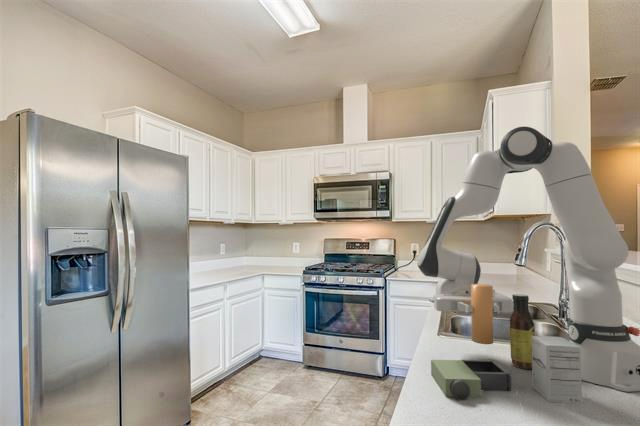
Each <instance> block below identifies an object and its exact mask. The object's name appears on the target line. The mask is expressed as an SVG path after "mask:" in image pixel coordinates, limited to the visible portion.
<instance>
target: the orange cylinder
mask: <svg viewBox="0 0 640 426" xmlns="http://www.w3.org/2000/svg"><path fill="white" fill-rule="evenodd" d="M493 289H494V286H493V285H491V284H484V283H478V284H471V305H472V306H473V311H474V312H473V313H471V315H470V317H471V324H470V325H471V341H472V342H474V343H477V344H481V345H493V344H494V313H493Z"/></svg>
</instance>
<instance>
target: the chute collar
mask: <svg viewBox="0 0 640 426" xmlns="http://www.w3.org/2000/svg"><path fill="white" fill-rule="evenodd" d="M461 360H462V361H463V362H464V363H465V364H466V365H467V366H468V367H469V368H470V369H471V370H472V371H473V372H474V373H475V374H476V375H477V376H478V377H479V378H480V379H481V392H482V391H483V392H484V391H485V392H512V374H511V373H510V372H509V371H508V370H507V369H505V368H504V367H502V365H501V364H499V363H497V361H495V360H493V359H491V360H490V359H461Z"/></svg>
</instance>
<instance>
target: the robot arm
mask: <svg viewBox="0 0 640 426" xmlns="http://www.w3.org/2000/svg"><path fill="white" fill-rule="evenodd" d="M499 147H500V148H498V149H496V150H482V151H478V152H476V153H474V154H473V156H472V158H471V159H470V161H469V163H468V166H467V168H466V171H465V173H464V176H463V179H462V183H461V186H460V188H459V189H458V191H457V193H456V194H455V195H454V196H451V197H449V198H447V200H445V202H444V204H443V206H442V207H441V210H440V212H439V214H438V215H437V218H436V220H435V222H434V224H433V227H432V229H431V231H430V233H429V236H427V237H428V238H427V240H426V242H425V243H424V245H423V246H422V249H421V250H420V252H419V255H418V258H417V268H418V269H419V270H420V272H421V273H422V274H423V276H425V277H430V278H431V277H432V278H439V279H441V280H439V281H438V282H437V283H436V286H435V294H433V297H429V298H428V300H429V302H430V303H433V308H434V309H435V311H438V312H445V313H446V312H447V313H448V312H449V313H451V312H452V313H457V314H458V315H461V316H471V313H473V312H474V311H473V306H472V305H471V284H479V281H480V278H481V272H482V269H481V265H480V262H479V260H478V258H477V257H476V255H474V254H472V253H468V252H463V251H460V250H454V249H450V248H445V247H443V246H442V245H443V243H444V241H445V238H446V237H447V234H448V231H449V229H450V227H451V225H452V223H454V222H455V221H456V220H458V219H460V218H461V219H462V218H465V217H472V216H478V215H483V214H485V213H487V212H489V211H491V210H492V209H494V207H495V206H496V204H497V202H498V199H499V195H500V193H501V189H502V185H503V181H504V179H505V176H506V175H507V174H514V173H516V174H518V173H519V174H520V173H523V172H527V171H530V170H532V169H535V170H536V171H537V172H538V173H539V174H540V177H541V178H542V181H543V183H544V187H545V190H546V193H547V195H548V199H549V201H550V203H551V207H552V209H553V212H554V215H555V217H556V218H557V220H558V222H559V224H560V227H561V228H562V231H563V234H564V236H565V240H564V243H563V251H564V262H565V271H566V272H565V273H566V279H567V285H568V297H569V299H568V300H569V317H568V319H567V327H568V328H567V331H568V337H569V338H568V339H569V341H570V342H572V343H573V344H575V345H577V346H579V347H580V351H581V381H585V382H588V383H592V384H596V385H600V386H603V387H604V386H605V387H608V388H613V389H615V390H618V391H622V392H625V393H626V392H627V393H628V392H640V345H639V344H637V342H635V341H633V340H632V339H631V338H632V337H631V336H630V335H633V336H635V337H640V328H637V327H635V326H629V327H628V326H627V325H625V324H624V323H623V322H624V321H623V320H624V319H623V302H622V301H623V300H622V299H623V298H622V292H621V289H620V286H619V282H618V278H617V274H616V269H617V268H619V267H621V266H622V265H623V264H624V263H625V262H626V261H627V259H628V256H629V247H628V244H627V243H626V241H625V239H624V238H623V237H622V234H621V232H620V230H619V229H618V227H617V225H616V223H615V221H614V219H613V217H612V216H611V214H610V212H609V211H608V209H607V207H606V206H605V203H604V202H603V200H602V196H601V194H600V191H599V189H598V186H597V184H596V181H595V179H594V175H593V173H592V171H591V168H590V166H589V164H588V162H587V160H586V158H585V156H584V155H583V153H582V152H581V150H580V149H579V147H578V146H577V145H575V143H572V142H567V141H566V142H565V141H564V142H556V143H554V144H553V141H552V140H551V139H549V138H547V136H545V135H544V134H543V133H541V132H540V131H538V129H535V128H533V127H530V126H518V127H515V128H513V129H511V130H509V131H508V132H507V133H506V134H505V135H504V136H503V137H502V139H501V142H500V146H499ZM513 308H514V303H513V299H512V297H509V296H507V295H505V294H502V293H500V292H496V290H495V289H494V288H493V314H512V313H513V311H514V309H513Z"/></svg>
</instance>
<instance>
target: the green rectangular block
mask: <svg viewBox="0 0 640 426" xmlns="http://www.w3.org/2000/svg"><path fill="white" fill-rule="evenodd" d="M462 360H463V359H458V360H457V359H431V360H430V368H431V369H430V371H431V373H430V374H431V376H432V378H433V380H434V381H435V383H436V384H437V386H438V387H439V389H440V390H441V392H442V393H443V395H444V397H446V398H449V397H450V398H451V397H452V398H455V399H456V400H457V401H464V400H467V399H468V398H478V399H479V398H480V399H481V398H482V391H481V379H480V378H479V377H478V376H477V375H476V374H475V373H474V372H473V371H472V370H471V369H470V368H469V367H468V366H467V365H466V364H465V363H464V362H463V361H462Z"/></svg>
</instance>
